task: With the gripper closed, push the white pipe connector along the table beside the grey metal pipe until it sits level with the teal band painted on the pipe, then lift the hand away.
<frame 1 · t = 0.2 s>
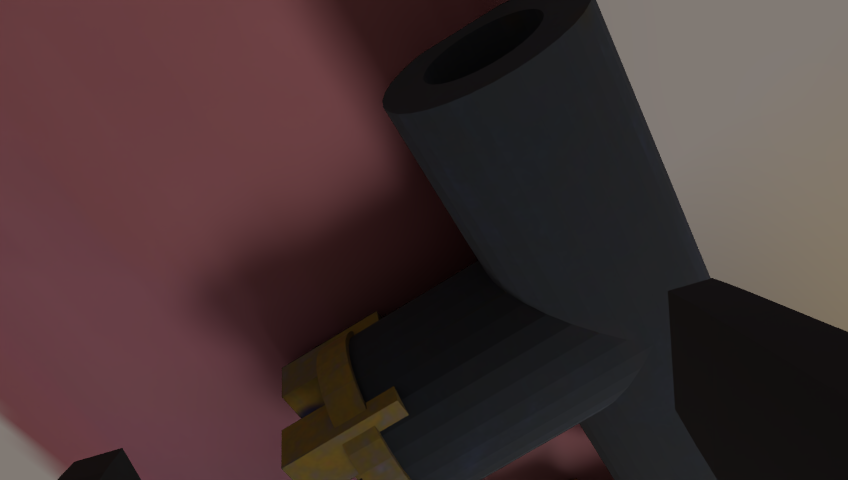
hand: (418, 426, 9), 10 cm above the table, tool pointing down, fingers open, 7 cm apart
pipe connector: (478, 301, 21), on the table
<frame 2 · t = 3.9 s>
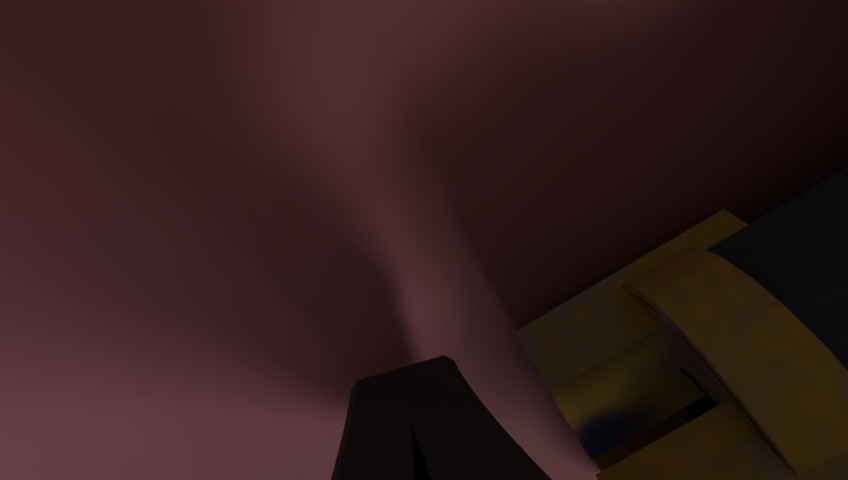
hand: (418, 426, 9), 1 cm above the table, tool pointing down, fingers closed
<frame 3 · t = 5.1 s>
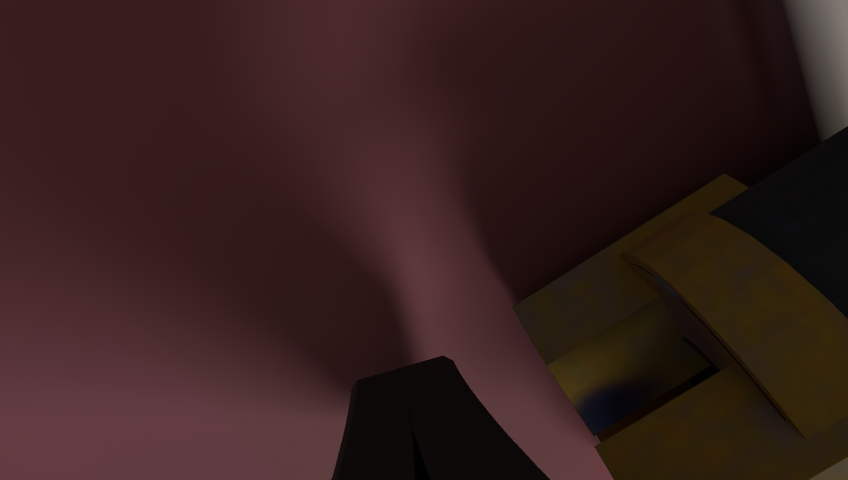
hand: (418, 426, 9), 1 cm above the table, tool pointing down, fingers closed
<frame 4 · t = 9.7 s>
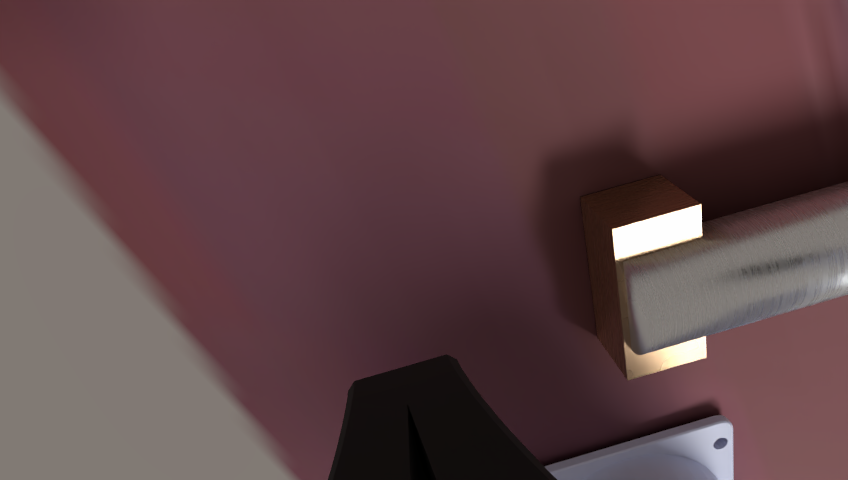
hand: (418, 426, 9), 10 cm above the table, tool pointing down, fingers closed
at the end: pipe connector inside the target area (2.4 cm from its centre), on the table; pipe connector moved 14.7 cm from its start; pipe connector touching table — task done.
